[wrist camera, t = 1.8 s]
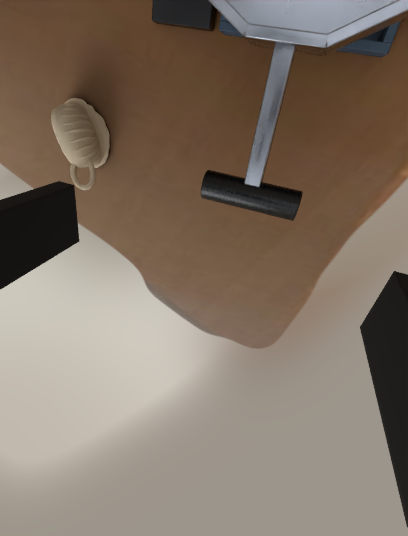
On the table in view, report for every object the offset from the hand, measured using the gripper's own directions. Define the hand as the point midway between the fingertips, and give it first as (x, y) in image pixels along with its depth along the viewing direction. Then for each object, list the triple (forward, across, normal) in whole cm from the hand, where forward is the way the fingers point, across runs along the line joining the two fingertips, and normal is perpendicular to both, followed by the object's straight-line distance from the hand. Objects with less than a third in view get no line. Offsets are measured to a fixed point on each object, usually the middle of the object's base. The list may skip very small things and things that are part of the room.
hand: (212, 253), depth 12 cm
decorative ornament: (+19, -19, -1) cm, 27 cm away
